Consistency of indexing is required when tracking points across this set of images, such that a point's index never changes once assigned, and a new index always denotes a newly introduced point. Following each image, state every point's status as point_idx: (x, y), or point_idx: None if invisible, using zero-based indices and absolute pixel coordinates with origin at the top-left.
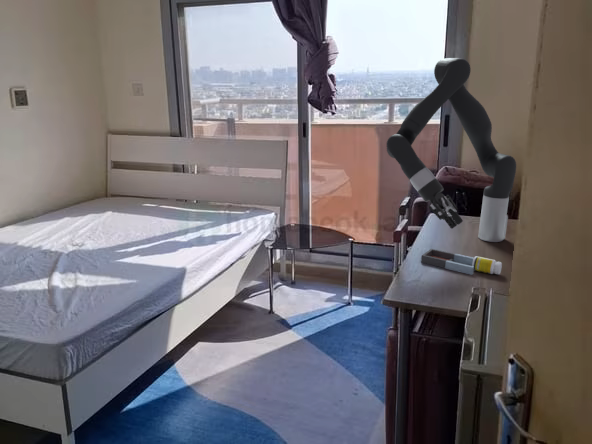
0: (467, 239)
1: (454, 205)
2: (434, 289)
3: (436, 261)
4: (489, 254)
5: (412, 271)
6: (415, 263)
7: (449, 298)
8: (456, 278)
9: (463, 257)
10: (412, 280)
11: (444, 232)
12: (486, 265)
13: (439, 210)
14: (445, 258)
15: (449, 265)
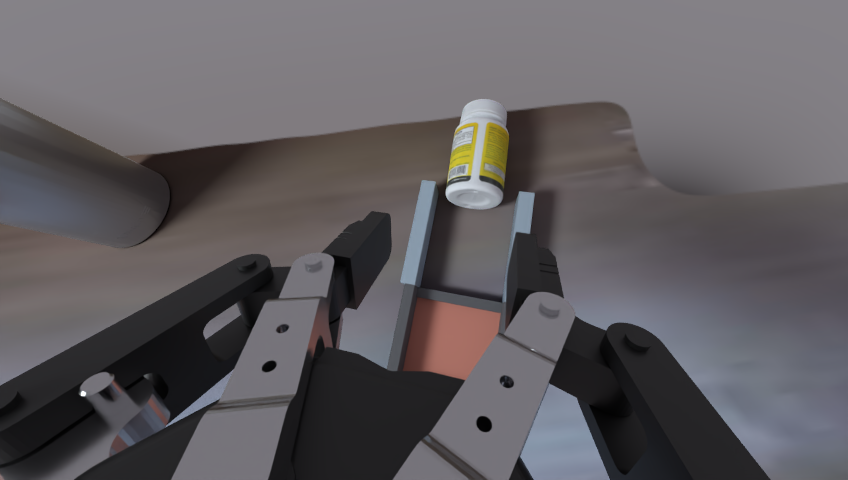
0: (158, 279)
1: (224, 286)
2: (782, 305)
3: None
4: (295, 186)
5: None
6: None
7: (831, 236)
8: (599, 247)
9: (422, 247)
10: (750, 417)
11: None
12: (506, 148)
13: (736, 461)
14: (412, 322)
15: None
